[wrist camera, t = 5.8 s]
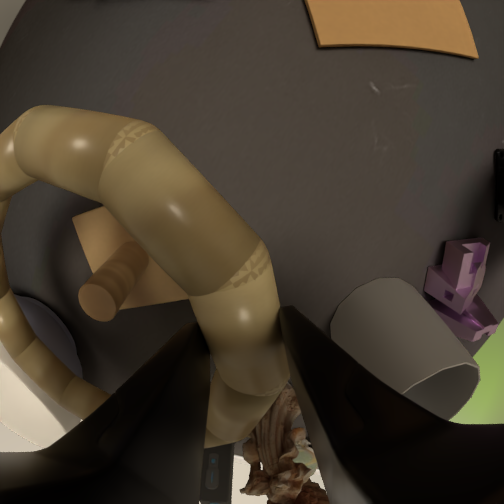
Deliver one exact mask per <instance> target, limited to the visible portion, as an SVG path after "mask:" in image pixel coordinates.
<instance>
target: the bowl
mask: <svg viewBox="0 0 504 504" xmlns="http://www.w3.org/2000/svg"><path fill="white" fill-rule="evenodd" d="M14 296H15V298H16V300H17V302H18V303H19V305H20V307H21V309H22V311H23V313H24V315H25V316H26V318H27V320H28V322H29V324H30V325H31V327H32V329H33V330H34V332H35V334H36V335H37V336H38V338H39V339H40V340H41V341H42V342H43V343H44V344H45V345H46V346H47V347H48V348H49V349H50V350H51V351H52V352H53V353H54V354H55V355H56V356H57V357H58V358H59V359H60V360H61V361H62V362H63V363H64V364H65V365H66V366H67V367H68V368H69V369H70V370H71V371H72V372H73V373H74V374H76V375H77V376H78V377H80V378H81V379H83V374H82V367H81V364H80V360H79V358H78V356H77V351H76V346H75V342H74V340H73V338H72V335H71V334H70V332H69V330H68V329H67V327H66V326H65V325H64V323H63V322H62V321H61V320H60V318H59V317H58V316H57V315H56V314H55V313H54V312H53V311H52V310H50V309H49V308H48V307H47V306H45V305H44V304H43V303H41V302H39V301H37V300H35V299H33V298H30V297H21V296H18V295H15V294H14ZM80 421H81V419H80V418H79V417H77V416H75V415H74V414H72V413H70V412H69V411H67V410H66V409H64V408H63V407H61V406H60V405H58V404H57V403H56V402H55V401H54V400H53V399H52V398H50V397H49V396H48V395H47V394H46V393H45V392H44V391H43V390H42V389H41V388H40V387H39V386H38V385H37V384H36V383H35V382H34V381H33V380H32V379H31V378H30V377H29V376H28V375H27V374H26V373H25V372H24V371H23V370H22V369H21V368H20V367H19V366H18V365H17V364H16V363H15V362H14V360H13V359H12V358H11V356H10V355H9V353H8V352H7V350H6V349H5V347H4V346H3V344H2V343H1V341H0V422H1V423H2V424H4V425H5V426H6V427H8V428H9V429H10V430H12V431H13V432H14V433H16V434H18V435H19V436H21V437H22V438H24V439H26V440H28V441H29V442H31V443H33V444H36V445H38V446H40V447H42V448H47V447H49V446H50V445H52V444H53V443H54V442H56V441H57V440H58V439H60V438H61V437H62V436H64V435H65V434H66V433H67V432H69V431H70V430H71V429H73V428H74V427H75V426H76V425H78V424H79V423H80Z"/></svg>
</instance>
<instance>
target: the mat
mask: <svg viewBox="0 0 504 504" xmlns="http://www.w3.org/2000/svg"><path fill="white" fill-rule="evenodd" d="M304 1H305V4H306V7H307V10H308V13H309V16H310V19H311V23H312V26H313V29H314V33H315V36H316V40H317V43H318V47H340V46H376V47H396V48H409V49H418V50H427V51H434V52H441V53H447V54H453V55H458V56H463V57H468V58H473V59H477V58H479V57H478V54H477V50H476V46H475V43H474V40H473V36H472V33H471V30H470V27H469V24H468V21H467V19H466V16H465V13H464V11H463V8H462V5H461V3H460V0H304Z"/></svg>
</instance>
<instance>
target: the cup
mask: <svg viewBox="0 0 504 504" xmlns="http://www.w3.org/2000/svg"><path fill="white" fill-rule="evenodd" d="M330 329H331V339H332V340H333V341H334V342H335V343H337V344H338V345H339V346H340V347H341V348H342V349H344V350H345V351H346V352H347V353H348V354H349V355H351V356H352V357H353V358H354V359H355V360H356V361H358V364H359V363H360V364H361V365H363V366H364V367H365V368H366V369H367V370H368V371H370V372H371V373H372V374H373V375H375V376H376V377H377V378H379V379H380V380H381V381H382V382H384V383H385V384H387V385H388V386H390V387H391V388H393V389H394V390H396V391H397V392H399V393H401V394H402V395H404V396H405V397H407V398H409V399H410V400H412V401H414V402H415V403H417V404H419V405H420V406H422V407H424V408H425V409H427V410H429V411H430V412H432V413H434V414H435V415H437V416H439V417H441V418H443V419H445V420H450V419H451V418H452V417H453V416H455V415H456V414H457V413H458V412H459V411H460V410H461V408H462V407H463V406H464V405H465V404H466V403H467V402H468V401H469V399H470V398H471V397H472V395H473V393H474V391H475V389H476V387H477V385H478V383H479V381H480V370H479V366H478V364H477V363H476V362H475V360H474V359H473V358H472V356H471V355H470V354H469V352H468V351H467V350H466V348H465V347H464V346H463V345H462V343H461V342H460V341H459V340H458V338H457V337H456V336H455V335H454V333H453V332H452V331H451V330H450V328H449V327H448V326H447V325H446V324H445V322H444V321H443V320H442V319H441V318H440V316H439V315H438V314H437V313H436V312H435V311H434V309H433V308H432V307H431V306H430V305H429V304H428V303H427V301H426V300H425V299H424V298H423V297H422V296H421V295H420V294H419V292H418V291H417V290H416V289H415V288H414V287H413V286H412V285H410V284H408V283H407V282H405V281H403V280H402V279H400V278H377V279H375V280H373V281H371V282H369V283H366V284H364V285H362V286H360V287H358V288H356V289H355V290H354V291H353V292H352V293H351V294H350V295H349V296H348V297H347V298H346V299H345V300H344V301H342V302H341V303H340V304H339V306H338V308H337V310H336V313H335V315H334V317H333V319H332V321H331V323H330Z"/></svg>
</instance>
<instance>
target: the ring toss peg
mask: <svg viewBox="0 0 504 504" xmlns="http://www.w3.org/2000/svg"><path fill="white" fill-rule="evenodd" d="M72 220H73V223H74V226H75V229H76V232H77V234H78V237H79V240H80V242H81V245H82V248H83V250H84V253H85V255H86V258H87V260H88V263H89V265H90V267H91V270H92V272H93V275H92V276H91V277H90V278H89V279H88V280H87V281H86V283H85V284H84V285H83V286H82V287H81V288H80V290H79V294H78V298H79V303H80V305H81V307H82V309H83V310H84V311H85V313H86V314H87V315H89V316H90V317H91V318H93V319H95V320H97V321H102V322H106V321H110V320H111V319H113V318H114V317H115V315H116V314H117V312H118V310H121V309H128V308H134V307H141V306H148V305H154V304H160V303H167V302H173V301H179V300H185V299H189V298H188V295H187V293H186V292H185V291H184V290H183V289H182V288H181V287H180V286H179V285H178V284H177V283H176V282H175V281H174V280H173V279H172V278H171V277H170V276H169V275H168V274H167V273H166V272H165V271H164V270H163V269H162V268H161V267H160V266H159V265H158V264H157V263H156V262H155V261H154V260H153V259H152V258H151V257H150V256H149V255H148V254H147V253H146V251H145V250H144V249H143V248H142V247H141V246H140V245H139V244H138V243H137V242H136V241H135V240H134V239H133V238H132V237H131V235H130V234H129V233H128V232H127V231H126V230H125V229H124V228H123V227H122V226H121V224H120V223H119V222H118V221H117V220H116V219H115V218H114V217H113V216H112V214H111V213H110V212H109V211H108V210H107V209H106V208H105V206H102V207H99V208H96V209H93V210H90V211H87V212H84V213H81V214H79V215H76V216H74V217H72Z"/></svg>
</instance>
